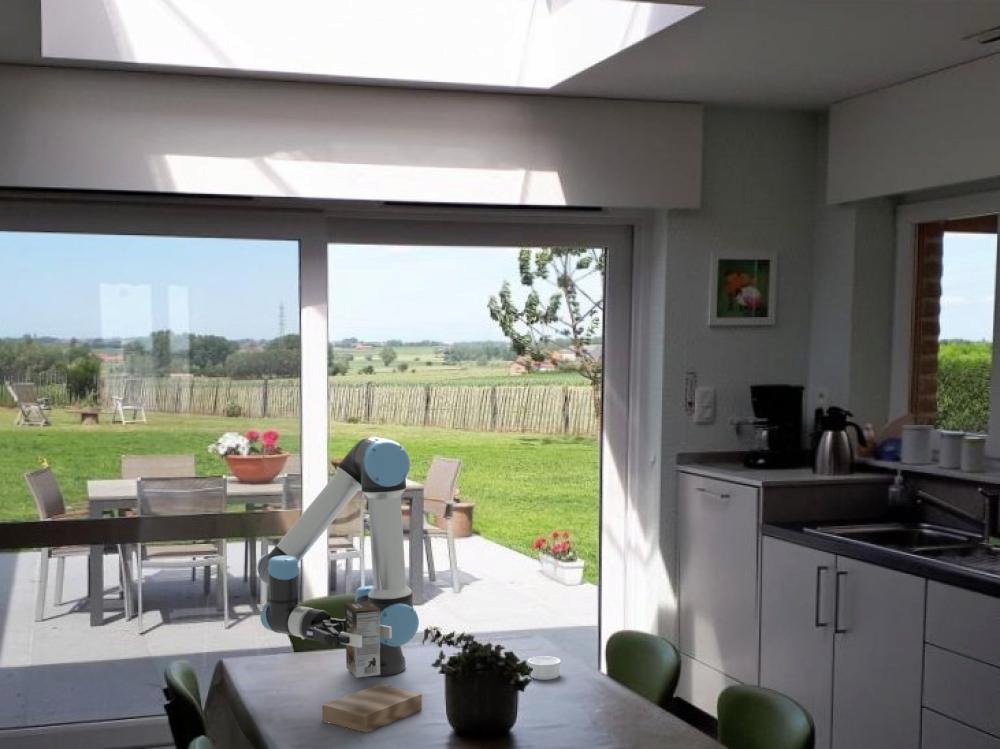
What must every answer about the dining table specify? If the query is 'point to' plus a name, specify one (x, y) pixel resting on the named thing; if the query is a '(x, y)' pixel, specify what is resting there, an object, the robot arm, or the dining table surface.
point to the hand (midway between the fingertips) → (376, 637)
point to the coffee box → (363, 638)
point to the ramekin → (544, 667)
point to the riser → (372, 707)
